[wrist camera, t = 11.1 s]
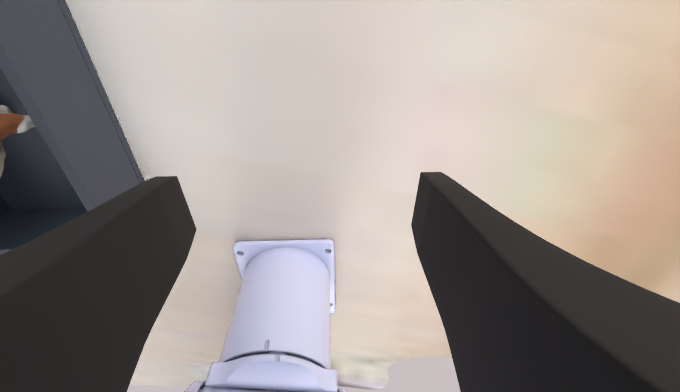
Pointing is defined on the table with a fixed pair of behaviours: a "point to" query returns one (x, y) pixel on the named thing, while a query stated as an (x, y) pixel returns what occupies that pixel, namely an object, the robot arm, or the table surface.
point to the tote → (54, 125)
